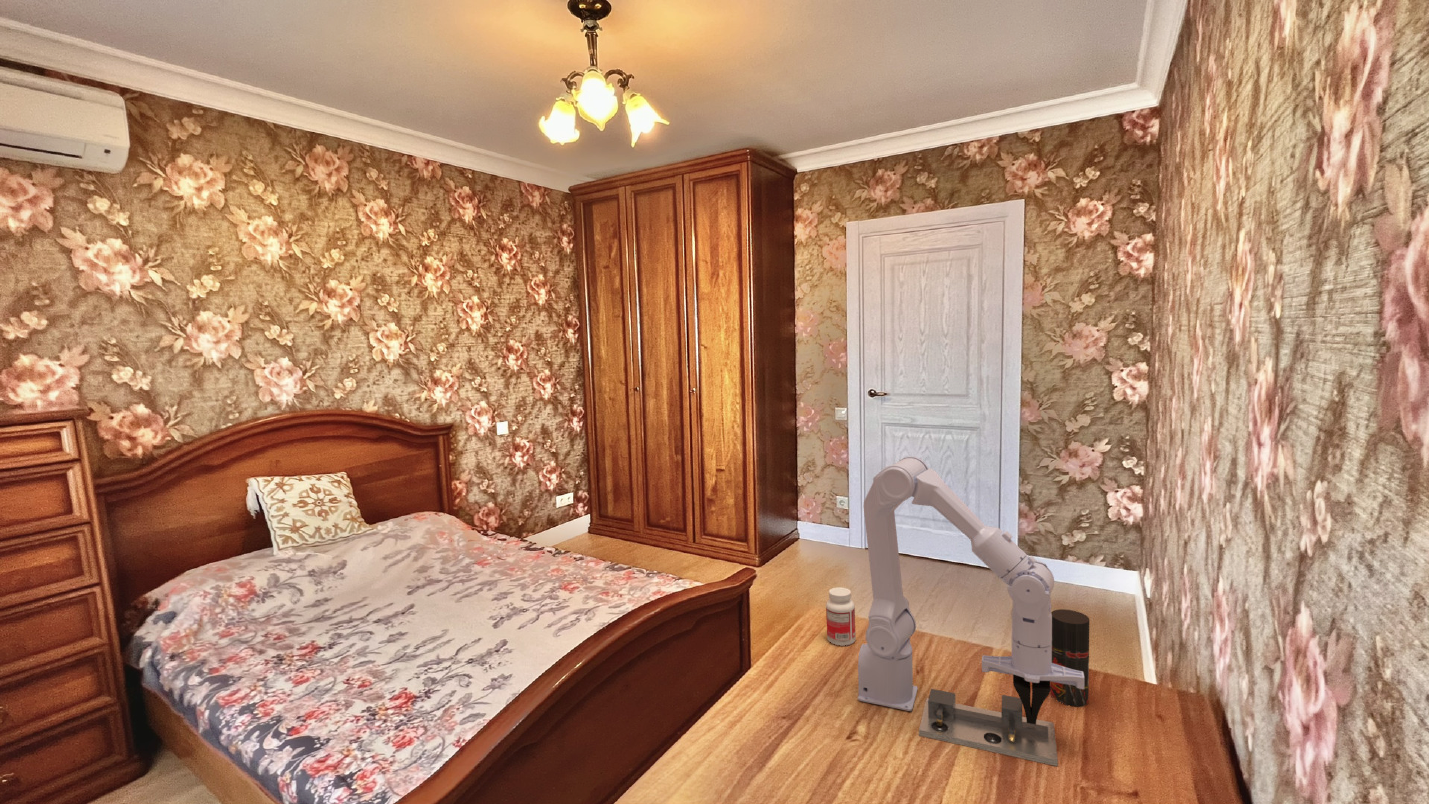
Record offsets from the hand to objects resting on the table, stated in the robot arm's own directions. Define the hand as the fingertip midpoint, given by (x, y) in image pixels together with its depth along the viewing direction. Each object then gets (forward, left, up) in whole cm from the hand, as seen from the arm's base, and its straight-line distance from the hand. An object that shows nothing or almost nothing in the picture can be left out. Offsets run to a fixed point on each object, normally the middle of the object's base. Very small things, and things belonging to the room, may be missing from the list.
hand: (1031, 720), depth 100 cm
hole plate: (-7, -1, -3) cm, 7 cm away
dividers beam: (-7, -1, -2) cm, 7 cm away
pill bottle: (-37, +22, -3) cm, 43 cm away
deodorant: (+6, +15, -3) cm, 17 cm away
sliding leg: (-3, -1, -2) cm, 3 cm away
